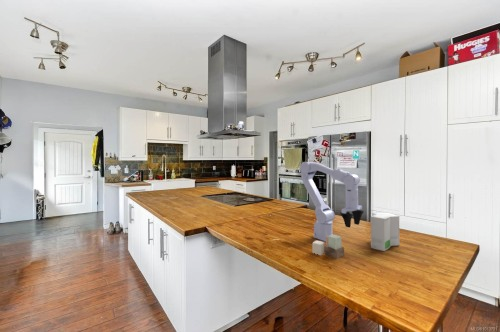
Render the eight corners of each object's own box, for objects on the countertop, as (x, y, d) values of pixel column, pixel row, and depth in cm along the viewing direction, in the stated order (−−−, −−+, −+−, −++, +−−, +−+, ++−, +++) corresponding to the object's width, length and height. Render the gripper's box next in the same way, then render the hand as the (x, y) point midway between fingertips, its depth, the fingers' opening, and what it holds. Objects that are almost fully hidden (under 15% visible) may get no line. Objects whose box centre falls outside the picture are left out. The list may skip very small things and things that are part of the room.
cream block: (312, 253, 107) (312, 242, 107) (316, 250, 110) (316, 240, 110) (320, 255, 105) (320, 244, 104) (324, 252, 108) (324, 242, 107)
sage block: (328, 246, 105) (328, 235, 105) (334, 244, 107) (334, 234, 107) (335, 249, 102) (335, 238, 102) (341, 247, 104) (341, 236, 104)
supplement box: (386, 239, 124) (386, 211, 123) (399, 245, 115) (400, 216, 114) (371, 240, 122) (371, 212, 122) (383, 246, 113) (384, 216, 113)
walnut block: (324, 255, 105) (324, 246, 105) (332, 251, 109) (332, 243, 109) (337, 259, 101) (337, 250, 100) (344, 255, 104) (344, 247, 104)
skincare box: (384, 251, 107) (384, 219, 107) (369, 247, 113) (369, 216, 112) (390, 247, 113) (391, 215, 112) (376, 243, 118) (376, 213, 117)
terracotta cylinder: (324, 246, 114) (324, 237, 114) (329, 245, 117) (329, 235, 116) (331, 249, 111) (331, 239, 111) (336, 247, 113) (336, 237, 113)
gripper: (350, 201, 107) (351, 230, 107) (367, 197, 115) (368, 224, 115) (337, 199, 113) (338, 226, 113) (354, 196, 121) (354, 221, 121)
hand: (352, 225), depth 114 cm, fingers open, 7 cm apart
